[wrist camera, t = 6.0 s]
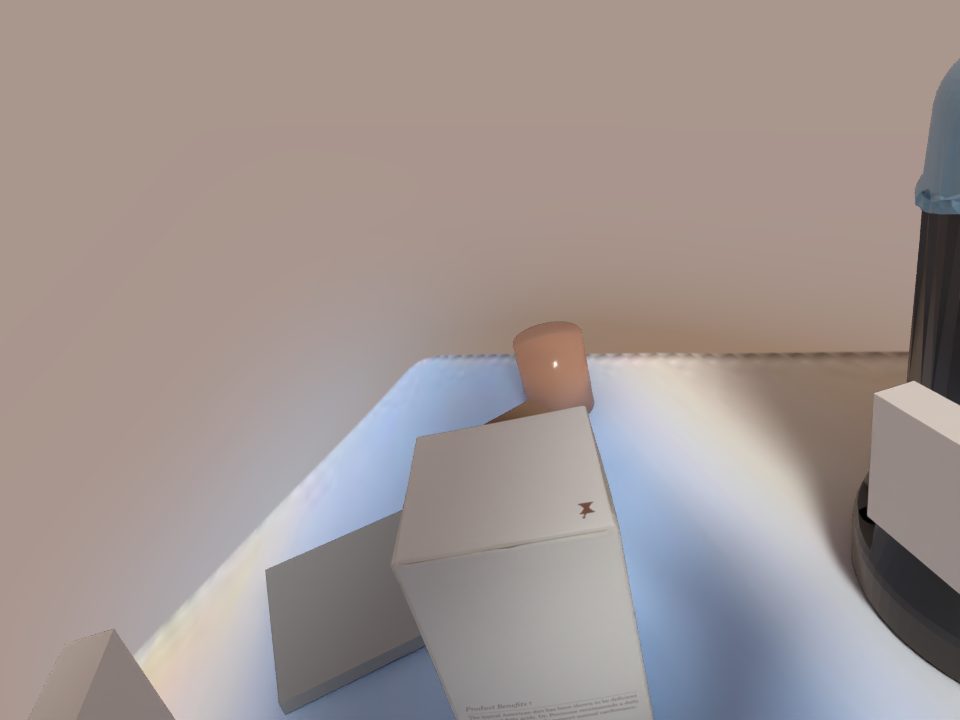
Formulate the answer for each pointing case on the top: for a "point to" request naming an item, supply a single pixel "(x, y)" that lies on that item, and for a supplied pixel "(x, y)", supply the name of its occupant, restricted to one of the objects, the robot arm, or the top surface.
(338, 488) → the top surface
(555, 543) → the supplement box
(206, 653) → the top surface
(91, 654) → the robot arm
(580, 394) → the peach rounded cylinder
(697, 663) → the top surface
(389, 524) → the slate tile
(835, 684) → the top surface
